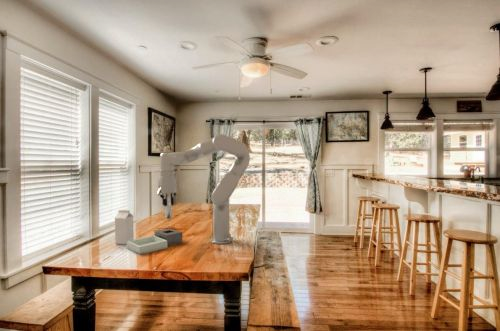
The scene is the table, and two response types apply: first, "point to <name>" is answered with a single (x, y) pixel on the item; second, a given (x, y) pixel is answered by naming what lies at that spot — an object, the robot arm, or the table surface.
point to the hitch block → (169, 236)
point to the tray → (146, 244)
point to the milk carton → (123, 227)
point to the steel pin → (168, 207)
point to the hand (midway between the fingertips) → (168, 204)
